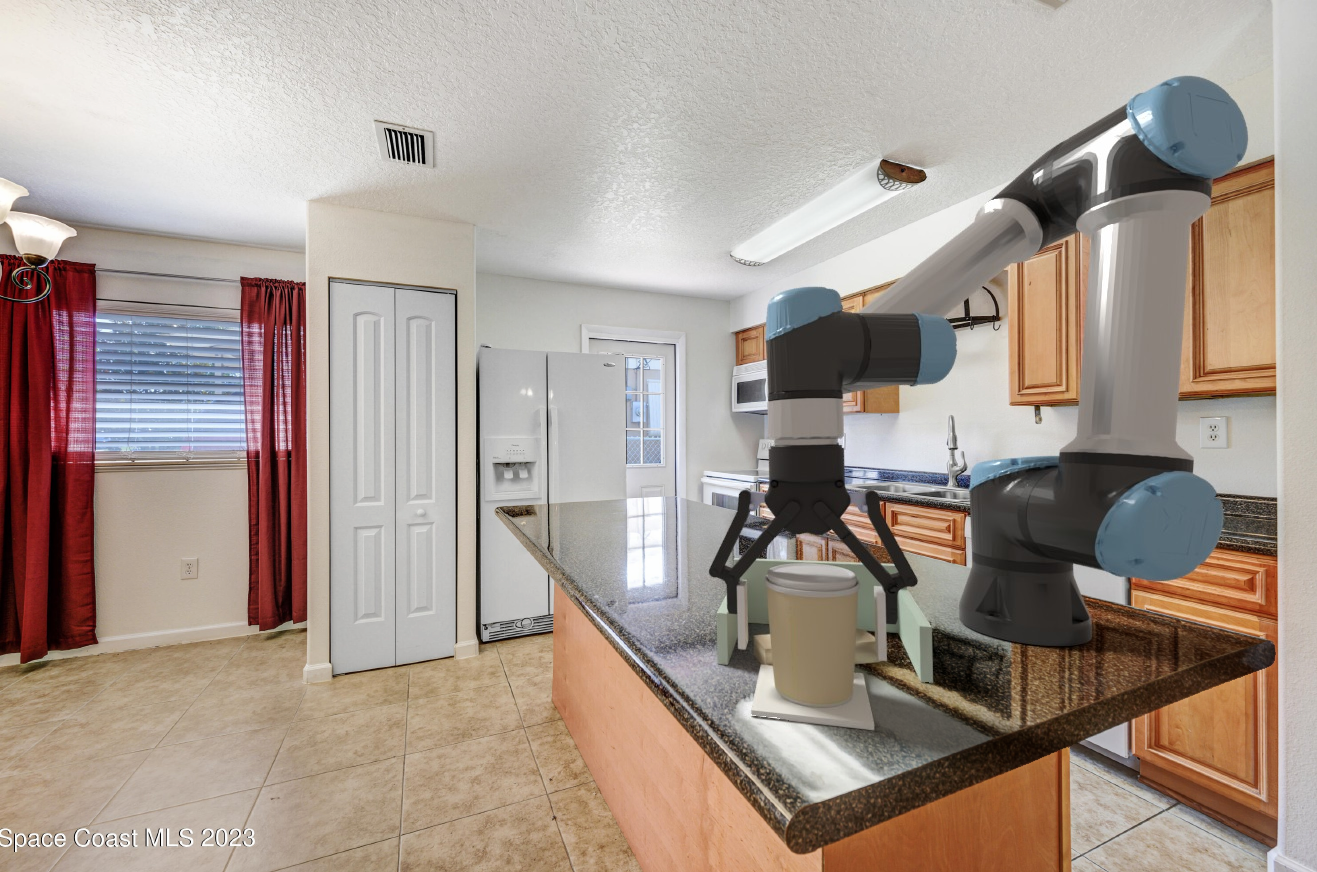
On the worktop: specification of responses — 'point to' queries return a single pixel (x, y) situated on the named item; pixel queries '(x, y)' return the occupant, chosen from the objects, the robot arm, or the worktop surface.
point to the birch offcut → (862, 651)
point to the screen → (908, 625)
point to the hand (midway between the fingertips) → (809, 650)
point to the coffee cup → (813, 632)
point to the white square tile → (844, 715)
